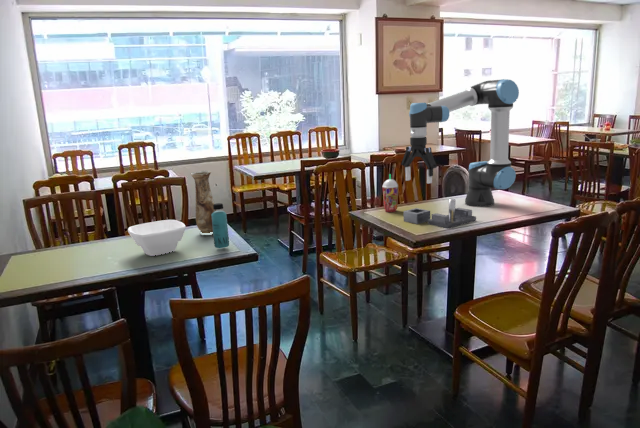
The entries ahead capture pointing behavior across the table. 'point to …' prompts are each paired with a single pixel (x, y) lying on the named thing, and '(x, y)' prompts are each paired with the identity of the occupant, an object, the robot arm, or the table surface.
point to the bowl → (158, 236)
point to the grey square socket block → (416, 216)
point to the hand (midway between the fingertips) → (418, 181)
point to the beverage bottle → (220, 227)
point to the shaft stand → (452, 217)
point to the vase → (203, 201)
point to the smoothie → (390, 195)
